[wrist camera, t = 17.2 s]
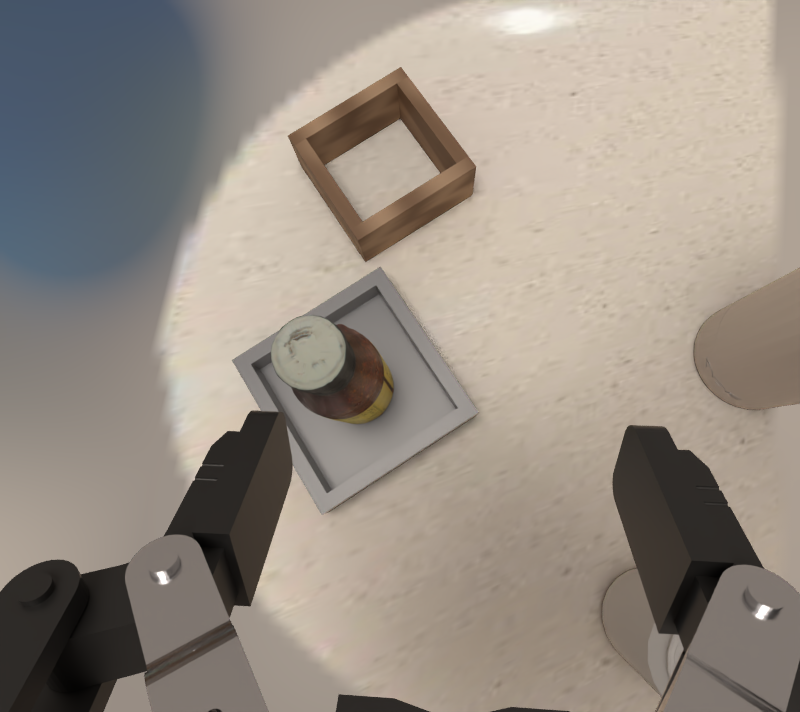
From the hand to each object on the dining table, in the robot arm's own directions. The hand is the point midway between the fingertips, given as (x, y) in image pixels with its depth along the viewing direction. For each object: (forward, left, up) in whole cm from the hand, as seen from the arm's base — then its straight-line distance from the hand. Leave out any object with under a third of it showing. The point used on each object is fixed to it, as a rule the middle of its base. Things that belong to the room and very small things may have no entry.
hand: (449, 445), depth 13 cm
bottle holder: (-10, -25, -35) cm, 44 cm away
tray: (+3, -9, -35) cm, 36 cm away
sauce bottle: (+3, -9, -34) cm, 35 cm away
